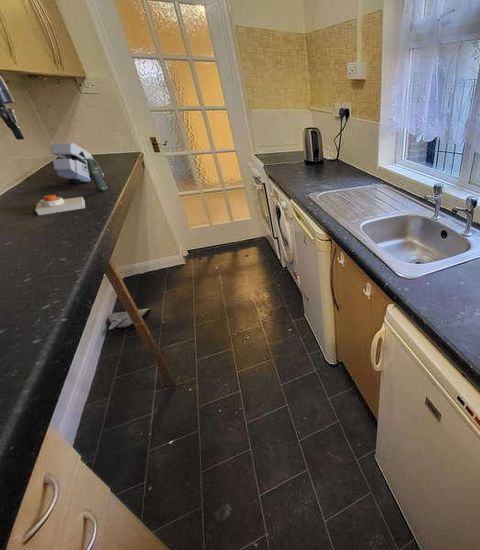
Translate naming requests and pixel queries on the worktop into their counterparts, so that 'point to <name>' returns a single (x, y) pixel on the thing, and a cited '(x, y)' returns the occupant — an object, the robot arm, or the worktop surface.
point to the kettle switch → (50, 197)
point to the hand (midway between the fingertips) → (20, 139)
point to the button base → (59, 205)
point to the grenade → (96, 174)
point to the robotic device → (71, 162)
